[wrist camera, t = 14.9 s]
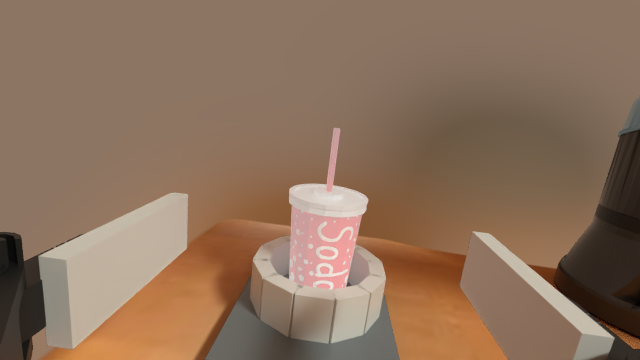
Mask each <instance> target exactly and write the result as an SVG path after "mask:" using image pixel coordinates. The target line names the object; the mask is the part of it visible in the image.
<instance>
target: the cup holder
mask: <svg viewBox="0 0 640 360" xmlns="http://www.w3.org/2000/svg"><path fill="white" fill-rule="evenodd" d="M290 241H291V236H283V237H279V238H277V239H274V240H272V241H269V242H267V243H265V244H262V245H261V246H260V248H259V250H258V251H257V253H256V255H255V256H254V258H253V264H252V275H251V277H250V278H249V280H248V282H247V284H246V286H245V287H244V289H243V291H242V293H241V295H240V297H239V298H238V300H237V302H236V304H235V306H234V307H233V309H232V311H231V313H230V315H229V316H228V318H227V320H226V322H225V324H224V326H223V327H222V329H221V331H220V333H219V335H218V336H217V338H216V340H215V342H214V344H213V345H212V347H211V349H210V351H209V353H208V355H207V356H206V358H205V360H400V359H399V355H398V351H397V346H396V342H395V338H394V334H393V329H392V325H391V321H390V317H389V312H388V308H387V304H386V300H385V295H384V287H385V282H386V275H385V271H384V268H383V264H382V262H381V260H379V259H378V258H377V257H375V256H374V255H373V254H372V253H370V252H369V251H368V250H366V249H365V248H363V247H361V246H359V245H356V244H355V249H354V253H353V258H352V262H351V267H350V271H349V276H348V280H347V285H346V287H343V288H338V289H332V290H331V289H324V288H317V287H310V286H303V285H300V284H298V283H296V282H293V281H291V280H289V266H290Z"/></svg>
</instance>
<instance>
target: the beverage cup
mask: <svg viewBox="0 0 640 360" xmlns="http://www.w3.org/2000/svg"><path fill="white" fill-rule="evenodd" d="M339 135H340V129H339V128H334V131H333V140H332V147H331V155H330V163H329V171H328V179H327V185H325V184H301V185H296V186H294V187H292V188H290V190H289V195H290V197H289V203H290V204H292V216H291V241H290V266H289V280H291V281H293V282H296V283H298V284H300V285H303V286H310V287H317V288H324V289H331V290H332V289H338V288H343V287H346V285H347V280H348V276H349V271H350V267H351V262H352V258H353V253H354V249H355V244H356V239H357V235H358V230H359V226H360V221H361V217H362V214H363V213H365V211H366V205H367V203H368V198H367V197H366V196H365V195H364V194H361V193H359V192H357V191H355V190H351V189H348V188H345V187H339V186H334V185H333V181H334V173H335V165H336V158H337V150H338V142H339Z"/></svg>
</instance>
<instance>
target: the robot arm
mask: <svg viewBox="0 0 640 360" xmlns="http://www.w3.org/2000/svg"><path fill="white" fill-rule="evenodd" d="M618 136H619V137H620V139H619V142H618V145H617V149H616V152H615V155H614V158H613V161H612V164H611V167H610V170H609V173H608V177H607V180H606V183H605V186H604V189H603V192H602V195H601V197H600V201H599V204H598V207H597V210H596V213H595V216H594V219H593V221H592V223H591V225H590V226H589V227H588V228H587V229H586V231H585V232H584V233H583V234H582V236H581V237H580V238H579V239H578V241H577V242H576V243H575V245H574V246H573V247H572V249H571V250H570V252H569V253H568V254H567V255H565V256H564V257H563V258H562V259H561V260H560V262H559V264H558V267H557V270H556V273H555V276H554V281H555V284H556V285H557V287H558V288H559V289H560V290H561V291H562V292H563V293H564V294H565V295H566V296H567V297H566V296H564V295H562V294H561V293H560V292H559V291H558V290H556V289H555V288H554V287H553V286H552V285H550V284H549V283H548V282H547V281H546V280H544V279H543V278H542V277H541V276H540V275H538V274H537V273H536V272H535V271H534V270H532V269H531V268H530V267H529V266H528V265H527V264H525V263H524V262H523V261H522V260H520V259H519V258H518V257H517V256H516V255H514V254H513V253H512V252H511V251H509V250H508V249H507V248H506V247H505V246H504V245H503V244H501V243H500V242H499V241H498V240H497V239H495V238H494V237H493V236H492V235H491V234H488V233H481V232H472V234H471V239H470V243H469V247H468V251H467V256H466V260H465V264H464V268H463V273H462V277H461V281H460V285H459V287H460V288H461V290H462V291H463V293H464V294H465V296H466V297H467V299H468V300H469V302H470V303H471V305H472V306H473V308H474V309H475V311H476V312H477V314H478V315H479V317H480V318H481V320H482V321H483V323H484V324H485V326H486V327H487V329H488V330H489V332H490V333H491V335H492V336H493V338H494V339H495V341H496V342H497V344H498V345H499V347H500V348H501V350H502V351H503V353H504V354H505V356H506V357H507V359H508V360H640V349H633V348H631V347H630V346H629V345H628V344H627V343H625V342H624V341H623V340H622V339H620V338H619V337H618V336H617V335H616V334H614V333H613V332H612V331H611V330H609V329H608V328H607V327H606V326H605V325H603V324H600V321H598V320H597V319H596V318H595V317H594V316H592V315H589V312H590V313H592V314H594V315H596V316H597V317H599V318H601V319H603V320H605V321H607V322H608V323H610V324H612V325H614V326H616V327H619V328H621V329H623V330H625V331H627V332H629V333H631V334H634V335H636V336H638V337H640V96H639V97H638V98H637V99H636V100H635V101H634V103H633V104H632V107H631V110H630V112H629V115H628V117H627V119H626V122H625V124H624V126H623V129H622V130H621V131H620V132H619V134H618ZM187 218H188V194H182V193H174V192H172V193H170V194H167V195H165V196H163V197H161V198H159V199H157V200H155V201H153V202H151V203H149V204H146V205H145V206H142V207H140V208H138V209H136V210H134V211H132V212H130V213H128V214H125V215H123V216H121V217H119V218H117V219H115V220H113V221H111V222H109V223H107V224H104V225H102V226H100V227H98V228H96V229H94V230H92V231H90V232H88V233H85V234H82V235H79V236H77V237H75V238H73V239H70V240H68V241H67V242H66V243H62V244H60V245H58V246H56V247H55V248H51V249H49V250H47V251H45V252H43V253H41V254H39V255H37V256H34V257H32V258H30V259H28V260H26V261H24V259H23V250H22V240H21V236H20V235H18V234H16V233H8V232H0V360H31V356H32V350H33V345H32V336H33V335H35V334H36V333H37V332H39V331H40V330H42V329H43V328H44V327H45V330H46V331H45V332H46V343H47V346H53V347H59V348H66V349H72V350H73V349H74V348H75V347H76V346H77V345H79V344H80V343H81V342H82V341H83V340H84V339H85V338H86V337H88V336H89V335H90V334H91V333H92V332H93V331H94V330H95V329H97V328H98V327H99V326H100V325H101V324H102V323H103V322H105V321H106V320H107V319H108V318H109V317H110V316H111V315H112V314H114V313H115V312H116V311H117V310H118V309H119V308H120V307H121V306H123V305H124V304H125V303H126V302H127V301H128V300H129V299H131V298H132V297H133V296H134V295H135V294H136V293H137V292H138V291H140V290H141V289H142V288H143V287H144V286H145V285H146V284H147V283H149V282H150V281H151V280H152V279H153V278H154V277H155V276H156V275H158V274H159V273H160V272H161V271H162V270H163V269H164V268H166V267H167V266H168V265H169V264H170V263H171V262H172V261H173V260H175V259H176V258H177V257H178V256H179V255H180V254H181V253H182V252H184V251H185V250H186V249H187ZM569 298H570V299H569ZM586 310H587V311H589V312H587V311H586Z"/></svg>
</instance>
